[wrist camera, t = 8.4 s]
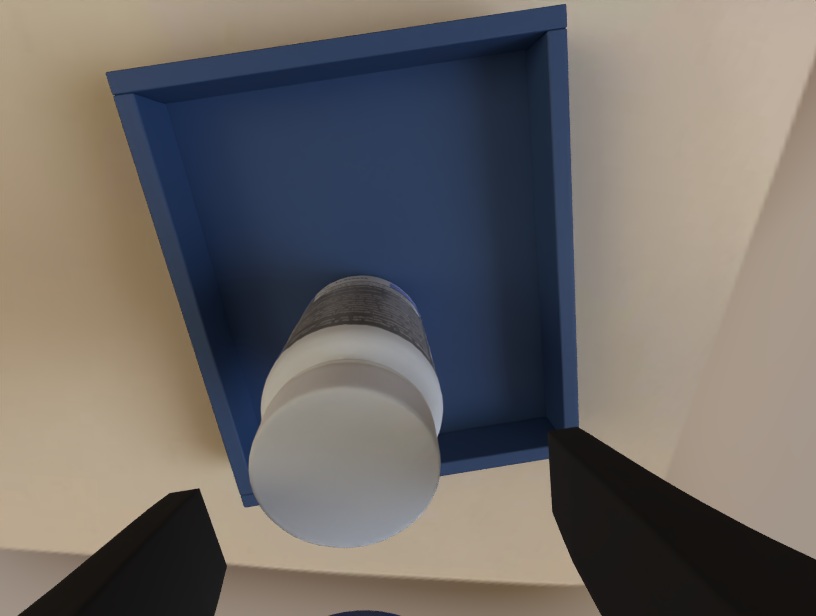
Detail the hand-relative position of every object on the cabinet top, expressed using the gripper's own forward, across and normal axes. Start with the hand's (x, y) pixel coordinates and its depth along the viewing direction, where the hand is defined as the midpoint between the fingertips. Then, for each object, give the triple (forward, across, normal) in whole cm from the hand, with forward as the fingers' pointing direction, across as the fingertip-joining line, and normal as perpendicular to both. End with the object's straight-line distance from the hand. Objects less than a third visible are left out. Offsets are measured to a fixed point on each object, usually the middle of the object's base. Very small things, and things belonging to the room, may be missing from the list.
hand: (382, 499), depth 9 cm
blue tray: (+9, 0, -3) cm, 9 cm away
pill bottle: (+9, +1, -1) cm, 9 cm away
